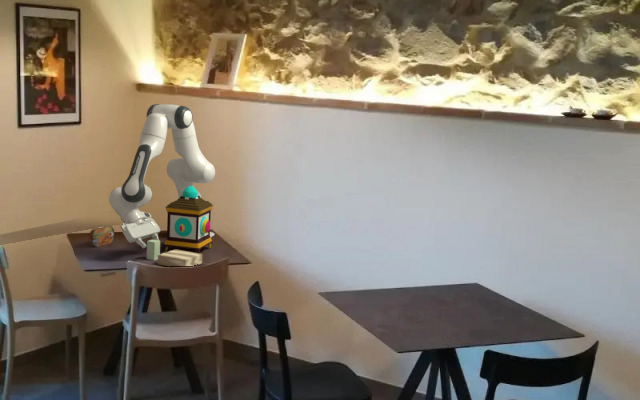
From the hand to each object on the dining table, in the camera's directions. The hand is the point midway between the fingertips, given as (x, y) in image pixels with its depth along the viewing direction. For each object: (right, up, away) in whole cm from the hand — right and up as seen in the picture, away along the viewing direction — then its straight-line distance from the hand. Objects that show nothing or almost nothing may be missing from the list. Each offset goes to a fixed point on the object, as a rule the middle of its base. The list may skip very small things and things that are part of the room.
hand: (151, 245), depth 337 cm
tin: (-28, -1, +20) cm, 34 cm away
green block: (0, -6, +1) cm, 6 cm away
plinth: (+13, -8, -5) cm, 16 cm away
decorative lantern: (+12, -3, +21) cm, 24 cm away
